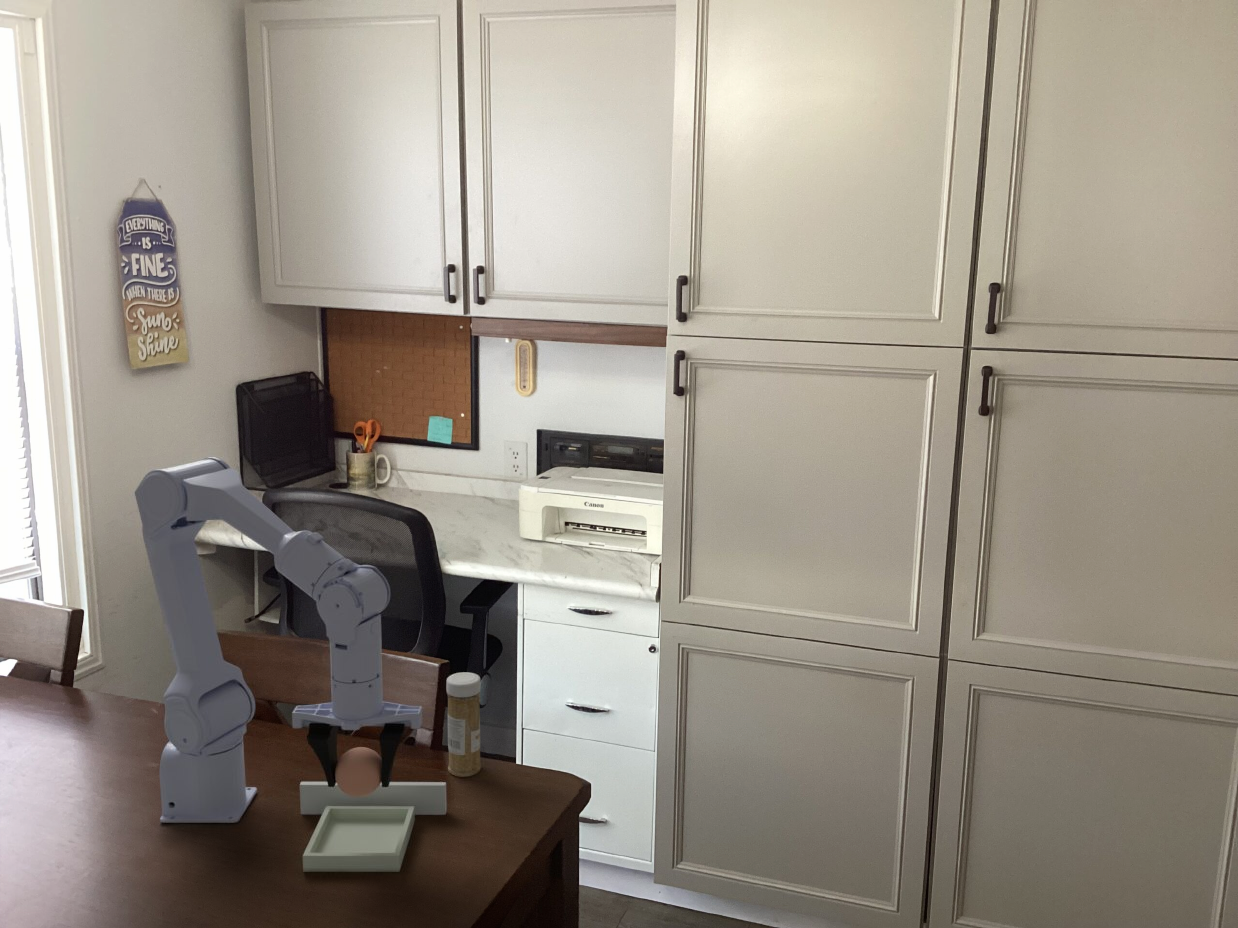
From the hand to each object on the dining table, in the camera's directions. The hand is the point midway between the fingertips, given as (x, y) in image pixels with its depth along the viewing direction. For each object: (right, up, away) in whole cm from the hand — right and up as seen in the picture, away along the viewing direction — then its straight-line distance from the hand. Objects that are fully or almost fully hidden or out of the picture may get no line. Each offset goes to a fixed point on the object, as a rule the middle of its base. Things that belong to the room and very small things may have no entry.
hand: (359, 782), depth 120 cm
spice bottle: (+9, -5, +20) cm, 23 cm away
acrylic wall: (0, -6, +9) cm, 11 cm away
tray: (0, -8, +2) cm, 8 cm away
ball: (0, +1, 0) cm, 1 cm away
